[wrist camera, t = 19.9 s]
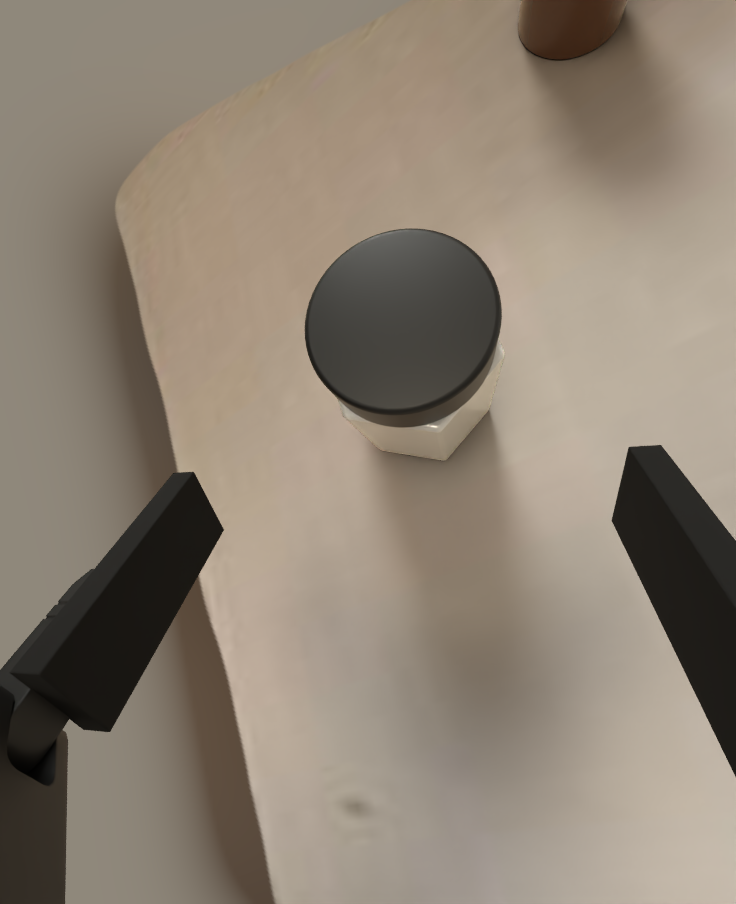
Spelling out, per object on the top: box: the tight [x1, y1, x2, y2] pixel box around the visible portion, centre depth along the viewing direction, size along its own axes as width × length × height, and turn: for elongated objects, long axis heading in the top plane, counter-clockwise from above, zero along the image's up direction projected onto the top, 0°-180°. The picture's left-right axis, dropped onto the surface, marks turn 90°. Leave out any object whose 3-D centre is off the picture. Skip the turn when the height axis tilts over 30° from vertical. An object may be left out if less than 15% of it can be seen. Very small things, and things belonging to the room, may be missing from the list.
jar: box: [305, 229, 505, 461], centre depth 22 cm, size 9×8×12 cm
